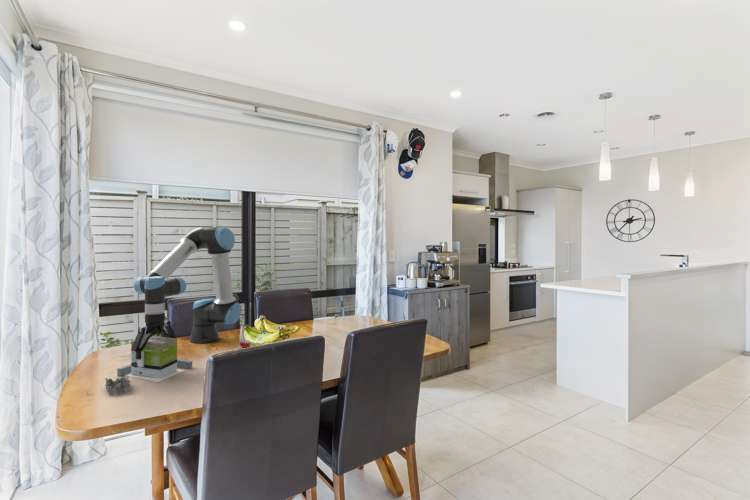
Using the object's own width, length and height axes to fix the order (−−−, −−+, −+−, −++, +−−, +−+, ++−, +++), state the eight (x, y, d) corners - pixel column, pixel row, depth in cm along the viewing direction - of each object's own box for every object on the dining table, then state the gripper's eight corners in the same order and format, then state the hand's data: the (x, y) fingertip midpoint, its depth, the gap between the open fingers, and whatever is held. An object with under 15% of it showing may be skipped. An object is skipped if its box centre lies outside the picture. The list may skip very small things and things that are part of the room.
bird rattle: (236, 371, 174) (254, 363, 175) (226, 349, 173) (245, 341, 174) (240, 366, 180) (257, 359, 181) (230, 345, 180) (248, 337, 180)
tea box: (130, 375, 160) (130, 340, 160) (149, 367, 170) (149, 334, 169) (160, 378, 157) (160, 343, 156) (178, 370, 167) (178, 337, 166)
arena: (157, 361, 179) (157, 355, 178) (193, 367, 171) (193, 361, 171) (117, 375, 160) (117, 368, 160) (155, 383, 153) (155, 376, 153)
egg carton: (104, 387, 148) (104, 377, 148) (127, 383, 153) (127, 373, 153) (107, 397, 140) (107, 386, 140) (131, 391, 145) (131, 381, 145)
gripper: (172, 306, 176) (172, 351, 176) (120, 317, 152) (120, 369, 153) (185, 308, 173) (185, 354, 174) (134, 319, 150) (134, 372, 150)
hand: (155, 361), depth 163 cm, fingers open, 13 cm apart
